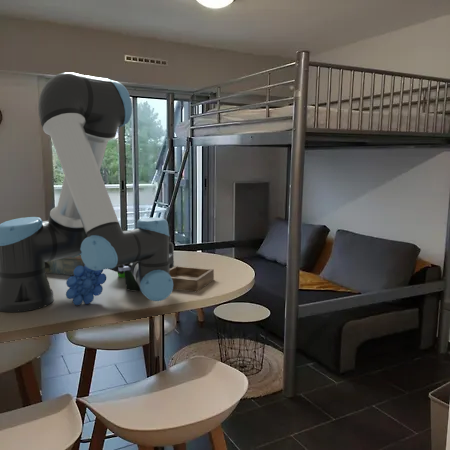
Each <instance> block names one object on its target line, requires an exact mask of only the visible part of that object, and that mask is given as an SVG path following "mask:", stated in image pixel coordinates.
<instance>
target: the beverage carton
mask: <svg viewBox="0 0 450 450" xmlns="http://www.w3.org/2000/svg"><path fill="white" fill-rule="evenodd" d="M84 265H85V264H84V263H83V261H82V258H81V255H79V256H76V257H68V258H63V259H58V260H53V261H48V262H45V274H46V273H48V274H53V275H63V274H64V275H63V276H74V273H73V272H74V269H75V268H76V267H77V266H83V267H84Z"/></svg>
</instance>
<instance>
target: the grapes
mask: <svg viewBox="0 0 450 450" xmlns="http://www.w3.org/2000/svg"><path fill="white" fill-rule="evenodd" d="M103 272H104V270H97V271H94V270H91V269H89V268H88V267H87V266H86V265H84V267H83V266H77V267H76V268H75V269H74V272H73V273H74V275H70V276H69V277H68V278H66V282H65V284H66V286H67V287H68V289H67V290H66V291H65V292H66V293H65V296H66V299H68V300H70V299H71V300H72V303H73V305H75V306H79V305H82V303H83V304H85V305H88V304H91V303H92V302H93V301H94V298H95V297H96V296H99V295H101V294H102V292H103V290H104V289H103V284H105V283H106V281H107V275H106V274H105V273H103Z"/></svg>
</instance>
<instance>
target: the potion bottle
mask: <svg viewBox="0 0 450 450" xmlns="http://www.w3.org/2000/svg"><path fill="white" fill-rule="evenodd" d="M124 274H125V278H124V281H125V287H126V290H128V291H131V292H141V290H140V287H139V285H138V283H137V282H136V280H135V278H134V277H133V275H132V272H129V271H128V270H126V271H124Z"/></svg>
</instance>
